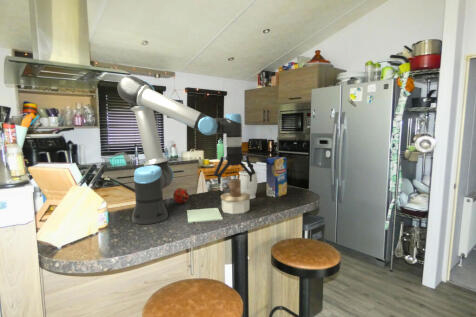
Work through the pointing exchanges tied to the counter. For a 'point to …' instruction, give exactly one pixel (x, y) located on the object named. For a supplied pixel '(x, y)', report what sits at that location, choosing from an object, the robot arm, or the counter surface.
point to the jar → (252, 184)
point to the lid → (235, 192)
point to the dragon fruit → (181, 195)
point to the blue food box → (276, 176)
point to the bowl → (235, 206)
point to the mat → (203, 215)
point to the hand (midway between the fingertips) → (235, 189)
